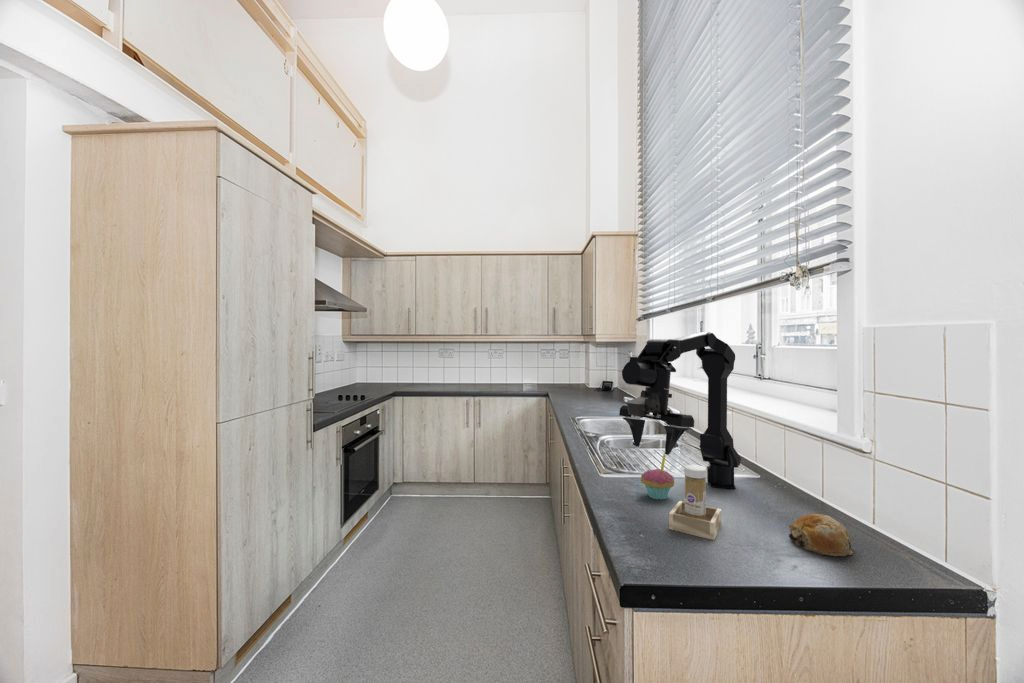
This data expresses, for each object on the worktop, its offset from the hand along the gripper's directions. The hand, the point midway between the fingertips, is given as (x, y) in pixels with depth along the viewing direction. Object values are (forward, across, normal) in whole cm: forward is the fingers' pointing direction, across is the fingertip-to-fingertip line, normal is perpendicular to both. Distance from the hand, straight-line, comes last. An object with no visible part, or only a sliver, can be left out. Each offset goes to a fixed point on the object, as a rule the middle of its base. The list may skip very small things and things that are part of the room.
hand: (651, 450), depth 106 cm
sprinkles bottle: (+14, +13, +1) cm, 19 cm away
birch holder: (+14, +13, +1) cm, 19 cm away
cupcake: (+13, -4, +10) cm, 17 cm away
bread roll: (+13, +32, +14) cm, 37 cm away
